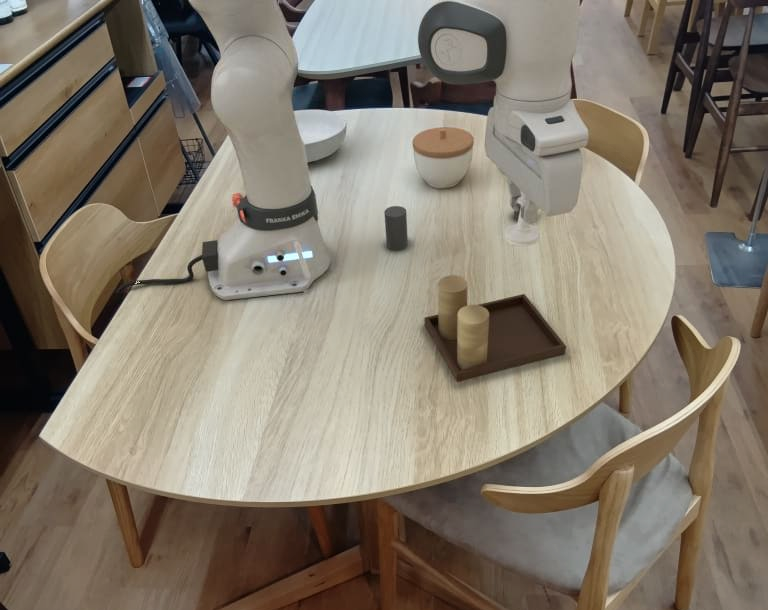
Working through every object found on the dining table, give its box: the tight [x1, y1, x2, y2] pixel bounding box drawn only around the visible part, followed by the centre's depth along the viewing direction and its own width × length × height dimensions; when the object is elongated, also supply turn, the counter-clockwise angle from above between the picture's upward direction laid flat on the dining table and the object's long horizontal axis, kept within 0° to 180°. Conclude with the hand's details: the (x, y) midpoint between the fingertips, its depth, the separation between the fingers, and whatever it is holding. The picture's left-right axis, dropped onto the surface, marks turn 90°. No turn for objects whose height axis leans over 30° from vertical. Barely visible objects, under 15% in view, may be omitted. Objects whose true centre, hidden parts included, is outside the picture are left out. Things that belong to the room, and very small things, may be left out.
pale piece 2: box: [457, 304, 489, 370], centre depth 96 cm, size 4×4×9 cm
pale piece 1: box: [437, 274, 469, 340], centre depth 102 cm, size 4×4×9 cm
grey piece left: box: [383, 205, 409, 251], centre depth 123 cm, size 4×4×7 cm
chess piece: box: [503, 190, 541, 247], centre depth 90 cm, size 5×5×10 cm
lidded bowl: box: [411, 126, 475, 189], centre depth 140 cm, size 13×13×11 cm
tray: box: [423, 293, 567, 383], centre depth 102 cm, size 17×14×2 cm
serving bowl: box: [293, 109, 348, 163], centre depth 156 cm, size 21×21×7 cm
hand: (523, 214), depth 91 cm, fingers closed on chess piece
